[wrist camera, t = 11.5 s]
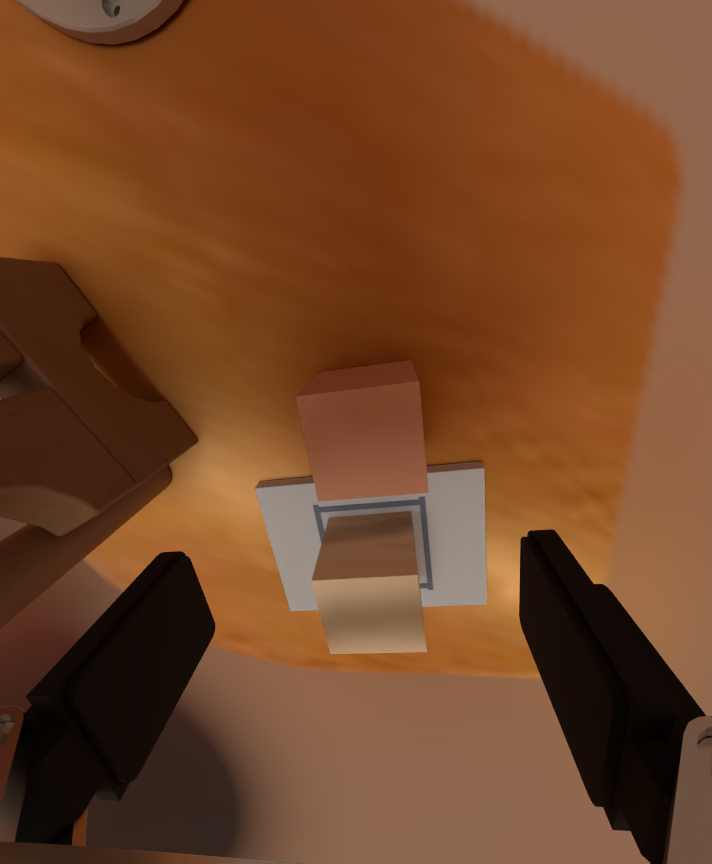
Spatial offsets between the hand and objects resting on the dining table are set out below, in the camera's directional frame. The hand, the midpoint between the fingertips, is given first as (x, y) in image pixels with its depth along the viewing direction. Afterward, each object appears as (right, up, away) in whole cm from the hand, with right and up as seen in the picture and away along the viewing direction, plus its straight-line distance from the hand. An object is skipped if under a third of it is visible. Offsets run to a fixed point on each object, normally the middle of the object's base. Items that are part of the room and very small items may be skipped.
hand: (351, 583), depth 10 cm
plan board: (+2, -4, +17) cm, 18 cm away
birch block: (+2, -4, +16) cm, 17 cm away
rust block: (+1, +6, +13) cm, 15 cm away
